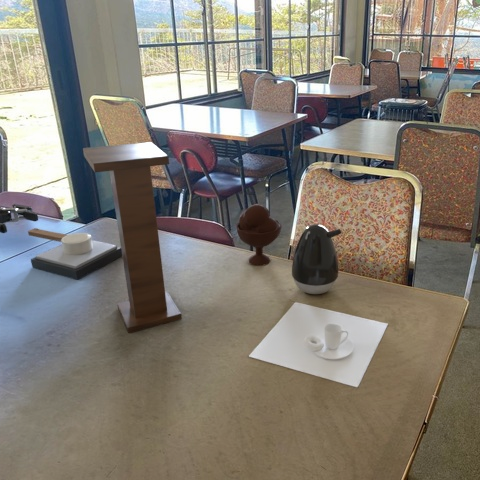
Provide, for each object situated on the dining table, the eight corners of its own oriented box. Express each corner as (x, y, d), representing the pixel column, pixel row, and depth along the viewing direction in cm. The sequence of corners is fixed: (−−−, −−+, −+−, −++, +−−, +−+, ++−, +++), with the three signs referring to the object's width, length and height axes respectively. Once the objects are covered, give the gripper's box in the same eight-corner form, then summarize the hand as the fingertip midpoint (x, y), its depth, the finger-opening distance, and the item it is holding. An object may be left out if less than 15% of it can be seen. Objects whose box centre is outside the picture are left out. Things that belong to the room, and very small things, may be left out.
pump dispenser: (339, 301, 102) (342, 235, 96) (290, 299, 102) (290, 233, 96) (337, 278, 111) (340, 217, 105) (293, 277, 111) (293, 215, 105)
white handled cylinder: (22, 244, 116) (19, 233, 115) (44, 235, 122) (41, 224, 121) (78, 256, 111) (76, 245, 110) (99, 246, 117) (97, 234, 115)
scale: (30, 267, 112) (28, 256, 111) (79, 245, 124) (77, 234, 123) (77, 279, 107) (75, 268, 106) (123, 255, 119) (121, 244, 118)
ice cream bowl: (289, 263, 117) (289, 205, 111) (248, 274, 112) (246, 214, 105) (268, 248, 125) (268, 193, 119) (229, 257, 119) (226, 200, 113)
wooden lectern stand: (109, 301, 99) (82, 148, 86) (167, 287, 105) (150, 142, 92) (122, 334, 89) (94, 165, 76) (186, 317, 95) (170, 157, 82)
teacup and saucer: (299, 353, 85) (299, 334, 83) (315, 329, 92) (316, 311, 90) (345, 366, 82) (347, 346, 80) (359, 340, 89) (361, 322, 87)
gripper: (5, 217, 131) (49, 227, 126) (-49, 236, 119) (-3, 247, 114) (-2, 191, 128) (43, 200, 123) (-57, 207, 116) (-11, 218, 111)
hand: (21, 222), depth 118 cm, fingers open, 8 cm apart
